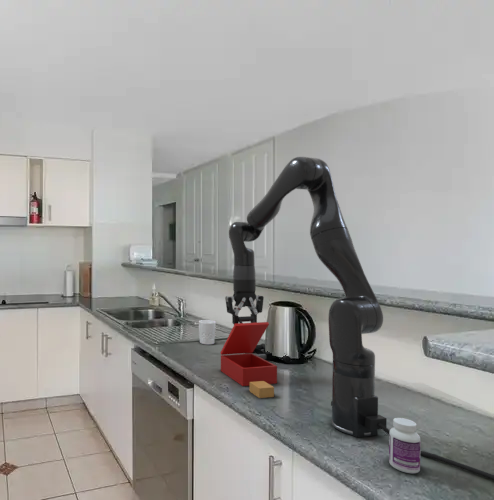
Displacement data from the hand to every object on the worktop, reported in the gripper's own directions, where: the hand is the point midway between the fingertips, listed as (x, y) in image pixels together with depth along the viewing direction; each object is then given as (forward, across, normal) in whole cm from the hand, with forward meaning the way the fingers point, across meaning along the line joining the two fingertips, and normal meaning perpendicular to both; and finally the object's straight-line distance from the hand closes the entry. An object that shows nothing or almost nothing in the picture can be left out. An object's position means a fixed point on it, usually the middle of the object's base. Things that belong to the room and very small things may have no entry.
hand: (244, 325), depth 139 cm
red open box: (+18, 0, -2) cm, 18 cm away
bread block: (+18, -4, -17) cm, 25 cm away
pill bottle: (+20, +3, -59) cm, 62 cm away
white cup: (+17, +6, +44) cm, 48 cm away
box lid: (+5, 0, 0) cm, 5 cm away
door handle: (+17, +18, +18) cm, 31 cm away
